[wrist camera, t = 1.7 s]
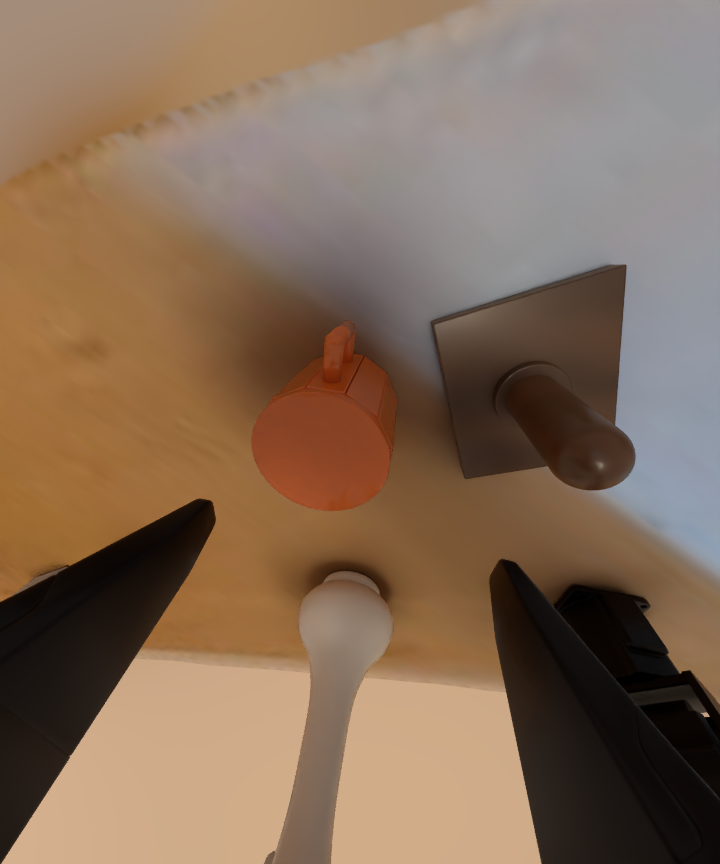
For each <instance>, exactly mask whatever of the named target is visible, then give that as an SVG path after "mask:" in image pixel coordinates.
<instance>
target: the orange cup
mask: <svg viewBox="0 0 720 864" xmlns="http://www.w3.org/2000/svg"><path fill="white" fill-rule="evenodd" d="M355 332H356V327H355V324H354V323H353V322H352V321H349V320H346V321H343V322H342V323H341V324H340V325H338V326H337V327H336V328H335V329H333V330H332V331H331V332H330V333H328V334H327V335H326V337H325V340H324V356H323V357H320V358H318V359H315V360H313V361H311V362H310V363H309V364H308V365H307V366H306V367H305V368H304V369H303V370H302V371H301V372H300V373H299V374H298V375H297V376H295V377H294V378H293V379H292V380H291V381H290V382H289V383H288V384H287V385H286V386H285V387H284V388H283V389H282V390H281V391H280V392H279V393H278V394H277V395H275V396H274V397H273V398H272V399H271V400H270V402H269V404H268V405H267V407H266V408H265V409H264V410H263V411H262V413H261V414H260V415H259V417H258V419H257V421H256V423H255V425H254V428H253V432H252V451H253V456H254V459H255V462H256V464H257V466H258V468H259V470H260V472H261V473H262V475H263V476H264V478H265V479H266V480H267V482H268V483H269V484H270V485H271V486H272V487H273V488H274V489H276V490H277V491H278V492H279V493H280V494H282V495H283V496H285V497H286V498H288V499H290V500H292V501H293V502H296V503H298V504H300V505H303V506H306V507H308V508H313V509H317V510H324V511H340V510H346V509H351V508H354V507H357V506H359V505H362V504H364V503H365V502H367V501H369V500H370V499H371V498H373V497H374V496H375V495H376V494H377V493H378V492H379V491H380V489H381V488H382V486H383V485H384V483H385V481H386V479H387V476H388V473H389V468H390V461H391V456H392V451H393V440H394V428H395V416H396V405H397V397H396V394H395V392H394V389H393V387H392V384H391V382H390V379H389V377H388V375H387V374H386V372H385V371H384V370H382V369H381V368H380V367H379V366H377V365H376V364H375V363H374V362H372V361H371V360H370V359H368V358H367V357H366V356H363V355H358V354H353V352H354V342H355Z"/></svg>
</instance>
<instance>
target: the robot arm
mask: <svg viewBox="0 0 720 864" xmlns="http://www.w3.org/2000/svg"><path fill="white" fill-rule="evenodd" d="M215 521H216V517H215V512H214V506H213V503H212V501H210V500H206V499H196V500H194V501H192V502H190V503H189V504H187V505H185V506H183V507H181V508H179V509H177V510H175V511H173V512H171V513H170V514H168V515H166V516H164V517H162V518H160V519H158V520H156V521H154V522H153V523H151V524H149V525H147V526H145V527H143V528H141V529H139V530H137V531H135V532H134V533H132V534H130V535H128V536H126V537H124V538H122V539H120V540H118V541H117V542H115V543H113V544H111V545H109V546H107V547H105V548H103V549H101V550H99V551H98V552H96V553H94V554H92V555H90V556H88V557H86V558H84V559H82V560H80V561H79V562H77V563H75V564H73V565H71V566H69V567H67V568H65V569H63V570H62V571H60V572H58V573H57V574H56V575H52V576H50V577H48V578H46V579H44V580H42V581H40V582H39V583H37V584H35V585H33V586H31V587H29V588H27V589H25V590H23V591H21V592H19V593H17V594H15V595H13V596H11V597H9V598H7V599H5V600H3V601H1V602H0V864H1V863H2V861H3V860H4V858H5V857H6V855H7V854H8V852H9V851H10V849H11V848H12V846H13V844H14V843H15V841H16V840H17V838H18V837H19V835H20V834H21V832H22V831H23V829H24V828H25V826H26V825H27V823H28V821H29V820H30V818H31V817H32V815H33V814H34V812H35V811H36V809H37V807H38V806H39V805H40V803H41V801H42V800H43V798H44V797H45V795H46V794H47V792H48V791H49V789H50V788H51V786H52V784H53V783H54V781H55V780H56V778H57V777H58V775H59V773H60V772H61V771H62V769H63V767H64V766H65V764H66V763H67V761H68V760H69V758H70V755H72V753H73V752H74V750H75V749H76V747H77V745H78V744H79V742H80V741H81V739H82V738H83V736H84V735H85V733H86V732H87V730H88V729H89V727H90V726H91V724H92V722H93V721H94V719H95V718H96V716H97V715H98V713H99V712H100V710H101V708H102V707H103V706H104V704H105V702H106V701H107V699H108V698H109V696H110V694H111V693H112V692H113V690H114V689H115V687H116V686H117V684H118V682H119V681H120V679H121V678H122V676H123V674H124V673H125V671H126V670H127V669H128V667H129V665H130V664H131V662H132V661H133V659H134V658H135V656H136V655H137V653H138V652H139V650H140V649H141V647H142V645H143V644H144V642H145V641H146V639H147V638H148V636H149V635H150V633H151V632H152V630H153V629H154V627H155V625H156V624H157V622H158V621H159V619H160V618H161V616H162V615H163V613H164V612H165V610H166V609H167V607H168V605H169V604H170V602H171V601H172V599H173V598H174V596H175V595H176V593H177V592H178V590H179V589H180V587H181V585H182V584H183V582H184V581H185V579H186V578H187V576H188V574H189V573H190V571H191V569H192V568H193V566H194V564H195V562H196V560H197V558H198V556H199V554H200V552H201V550H202V548H203V547H204V545H205V543H206V541H207V539H208V537H209V535H210V533H211V531H212V529H213V527H214V525H215ZM489 583H490V593H491V603H492V612H493V622H494V631H495V639H496V644H497V649H498V654H499V659H500V664H501V669H502V674H503V679H504V683H505V688H506V693H507V698H508V703H509V707H510V712H511V717H512V722H513V727H514V732H515V737H516V741H517V747H518V751H519V756H520V761H521V766H522V771H523V776H524V780H525V785H526V790H527V795H528V800H529V805H530V810H531V815H532V819H533V824H534V829H535V834H536V839H537V843H538V848H539V853H540V858H541V863H542V864H720V705H719V703H718V702H717V701H716V699H715V698H714V697H713V696H712V695H711V693H710V692H709V691H708V690H707V689H706V688H705V687H704V685H703V684H702V683H701V682H700V681H699V680H698V679H697V677H696V676H695V675H694V674H693V673H692V672H691V671H690V670H688V671H682V673H681V674H680V673H679V672H678V670H677V669H676V667H675V666H674V664H673V663H672V661H671V660H670V658H669V657H668V655H667V654H668V653H669V652H668V650H667V648H666V646H665V645H664V644H663V642H662V641H661V639H660V638H659V636H658V635H657V633H656V632H655V630H654V629H653V627H652V626H651V624H650V623H649V622H648V620H647V619H646V617H645V616H644V614H643V613H644V612H645V611H646V610H648V609H649V608H650V604H649V603H648V601H647V600H646V599H643V598H638V597H633V596H628V595H623V594H618V593H613V592H608V591H603V590H598V589H593V588H588V587H582V586H572V587H570V588H569V589H568V591H567V592H566V593H565V594H564V596H563V597H562V598H561V599H560V600H559V602H558V603H557V604H556V605H555V607H553V605H552V604H551V603H550V602H549V601H548V599H547V598H546V597H545V596H544V595H543V594H542V592H541V591H540V590H539V589H538V588H537V587H536V585H535V584H534V583H533V582H532V581H531V579H530V578H529V577H528V576H527V575H526V574H525V572H524V571H523V570H522V569H521V568H520V567H519V565H518V564H517V563H515V562H514V561H510V560H505V559H501V560H499V561H498V563H497V565H496V566H495V568H494V570H493V572H492V573H491V575H490V581H489ZM705 712H707V713H708V714H709V716H710V717H704V716H703V715H702V714H701V713H705Z"/></svg>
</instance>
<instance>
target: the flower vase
mask: <svg viewBox="0 0 720 864" xmlns="http://www.w3.org/2000/svg"><path fill="white" fill-rule="evenodd" d="M298 631H299V635H300V638H301V640H302V643H303V645H304V647H305V649H306V651H307V654H308V658H309V664H310V678H311V689H310V700H309V707H308V713H307V719H306V725H305V730H304V735H303V741H302V745H301V750H300V756H299V761H298V766H297V771H296V776H295V780H294V785H293V790H292V794H291V799H290V803H289V807H288V811H287V815H286V819H285V822H284V826H283V830H282V833H281V837H280V839H279V843H278V846H277V849H276V852H275V851H273V852H272V853H270V854H269V855H268V857H267V858H266V860H265V863H264V864H331V851H332V837H333V826H334V817H335V808H336V801H337V793H338V787H339V780H340V774H341V768H342V762H343V755H344V749H345V743H346V737H347V731H348V725H349V720H350V715H351V711H352V707H353V703H354V699H355V697H356V694H357V691H358V689H359V686H360V684H361V682H362V680H363V678H364V676H365V674H366V673H367V671H368V670H369V668H370V667H371V666H372V665H373V664H375V663H376V662H377V661H378V660H379V659H380V658H381V657H382V656H383V654H384V653H385V652H386V650H387V649H388V646H389V644H390V641H391V638H392V635H393V631H394V623H393V617H392V613H391V611H390V609H389V607H388V606H387V604H386V602H385V601H384V599H383V598H382V597H381V596H380V592H379V588H378V587H377V585H376V584H375V583H374V582H373V581H372V580H371V579H370V578H368V577H366V576H365V575H362V574H360V573H357V572H352V571H339V572H335V573H332V574H330V575H329V576H327V577H326V578H325V580H324V581H323V583H322V584H319V585H318V586H316V587H315V588H314V589H312V590H311V591H310V592H308V593H307V594H306V595H305V597H304V599H303V600H302V602H301V604H300V606H299V611H298Z"/></svg>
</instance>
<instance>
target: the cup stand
mask: <svg viewBox="0 0 720 864" xmlns="http://www.w3.org/2000/svg"><path fill="white" fill-rule="evenodd" d="M625 280H626V265H609V266H606V267H603V268H600V269H597V270H593V271H590V272H587V273H584V274H581V275H577V276H574V277H571V278H568V279H565V280H561V281H558V282H555V283H552V284H549V285H545V286H542V287H539V288H536V289H533V290H529V291H526V292H523V293H520V294H517V295H513V296H510V297H507V298H504V299H501V300H497V301H494V302H491V303H488V304H485V305H481V306H478V307H475V308H472V309H469V310H465V311H462V312H459V313H456V314H453V315H449V316H446V317H443V318H440V319H437V320H433V321H432V327H433V332H434V336H435V341H436V346H437V351H438V356H439V361H440V365H441V370H442V375H443V380H444V385H445V390H446V395H447V399H448V404H449V409H450V414H451V419H452V424H453V429H454V433H455V438H456V443H457V448H458V453H459V458H460V463H461V467H462V472H463V475H464V478H465V479H469V478H475V477H482V476H488V475H494V474H501V473H507V472H513V471H520V470H526V469H532V468H538V467H545V466H548V467H549V469H550V470H551V471H552V473H553V474H554V475H555V476H556V477H557V478H558V479H559V480H561V481H562V482H564V483H565V484H567V485H569V486H572V487H575V488H578V489H583V490H603V489H607V488H610V487H613V486H615V485H617V484H619V483H620V482H622V481H623V480H624V479H626V478H627V477H628V475H629V474H630V473H631V471H632V469H633V467H634V464H635V458H636V455H635V449H634V446H633V444H632V442H631V440H630V439H629V438H628V436H627V435H626V434H625V433H624V432H623V431H622V430H620V429H619V428H618V427H616V426H615V418H616V404H617V390H618V377H619V363H620V349H621V335H622V321H623V307H624V294H625Z"/></svg>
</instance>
